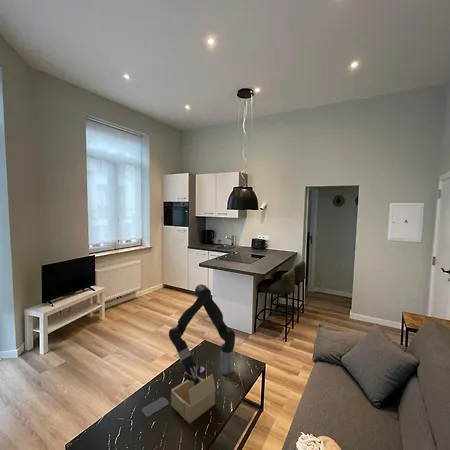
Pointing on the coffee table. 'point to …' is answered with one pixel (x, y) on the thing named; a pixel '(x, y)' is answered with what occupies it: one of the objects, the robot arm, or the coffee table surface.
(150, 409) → the smartphone
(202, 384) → the flap
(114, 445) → the coffee table surface
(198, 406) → the carton
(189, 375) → the bracket
